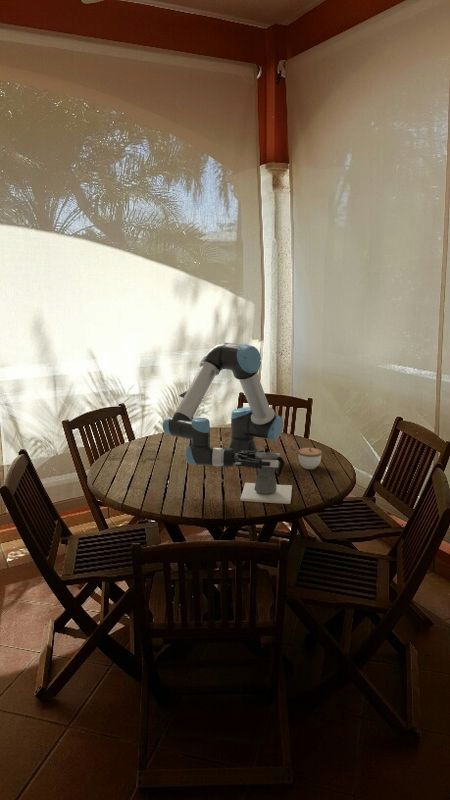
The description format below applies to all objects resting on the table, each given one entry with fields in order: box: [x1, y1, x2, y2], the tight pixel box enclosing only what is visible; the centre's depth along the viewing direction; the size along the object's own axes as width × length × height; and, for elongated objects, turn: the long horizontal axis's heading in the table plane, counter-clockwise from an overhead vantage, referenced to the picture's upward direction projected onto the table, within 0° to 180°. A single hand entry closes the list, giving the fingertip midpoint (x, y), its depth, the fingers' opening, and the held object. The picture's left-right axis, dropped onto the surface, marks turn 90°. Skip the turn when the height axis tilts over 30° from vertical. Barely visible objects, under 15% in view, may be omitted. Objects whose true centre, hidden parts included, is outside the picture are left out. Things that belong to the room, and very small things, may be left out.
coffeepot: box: [253, 447, 285, 494], centre depth 253 cm, size 15×9×18 cm, turn 50°
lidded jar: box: [298, 447, 323, 470], centre depth 289 cm, size 11×11×9 cm
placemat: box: [239, 482, 293, 505], centre depth 256 cm, size 18×20×1 cm
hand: (279, 460), depth 252 cm, fingers closed on coffeepot, 8 cm apart
